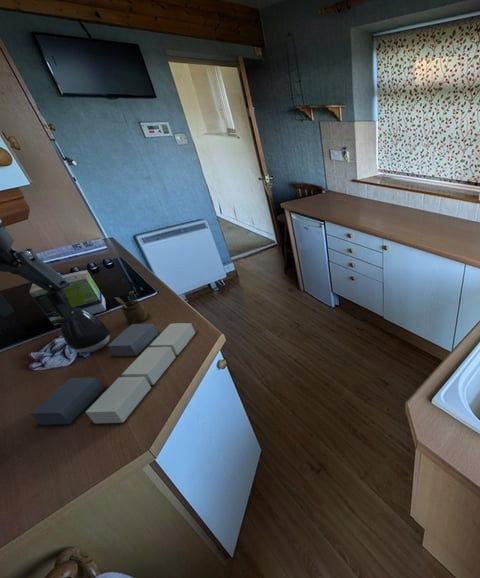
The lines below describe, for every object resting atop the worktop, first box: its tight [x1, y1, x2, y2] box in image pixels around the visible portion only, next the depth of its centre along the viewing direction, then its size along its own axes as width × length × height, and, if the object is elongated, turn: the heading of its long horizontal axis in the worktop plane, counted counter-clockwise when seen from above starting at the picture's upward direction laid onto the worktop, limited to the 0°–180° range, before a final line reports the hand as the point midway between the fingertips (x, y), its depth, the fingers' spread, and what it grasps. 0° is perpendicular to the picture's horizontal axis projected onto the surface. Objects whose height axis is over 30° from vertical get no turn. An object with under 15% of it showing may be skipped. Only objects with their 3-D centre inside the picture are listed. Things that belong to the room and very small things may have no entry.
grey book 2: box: [107, 323, 159, 357], centre depth 97 cm, size 7×11×4 cm, turn 2°
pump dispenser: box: [50, 308, 111, 354], centre depth 93 cm, size 10×10×15 cm
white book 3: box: [149, 322, 196, 356], centre depth 97 cm, size 7×11×4 cm, turn 2°
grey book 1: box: [29, 377, 105, 426], centre depth 76 cm, size 7×11×4 cm, turn 2°
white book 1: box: [85, 376, 152, 424], centre depth 77 cm, size 7×11×4 cm, turn 2°
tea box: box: [28, 269, 107, 326], centre depth 110 cm, size 15×10×15 cm, turn 130°
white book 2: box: [121, 346, 176, 386], centre depth 87 cm, size 7×11×4 cm, turn 2°
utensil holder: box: [114, 292, 148, 325], centre depth 107 cm, size 6×6×12 cm
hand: (37, 314), depth 69 cm, fingers open, 13 cm apart
